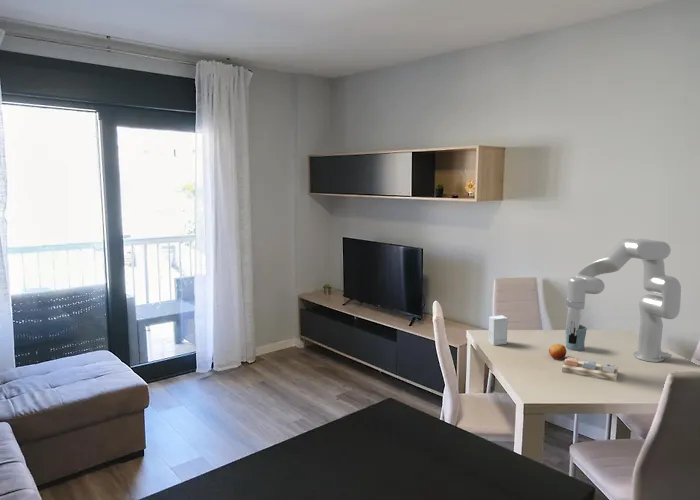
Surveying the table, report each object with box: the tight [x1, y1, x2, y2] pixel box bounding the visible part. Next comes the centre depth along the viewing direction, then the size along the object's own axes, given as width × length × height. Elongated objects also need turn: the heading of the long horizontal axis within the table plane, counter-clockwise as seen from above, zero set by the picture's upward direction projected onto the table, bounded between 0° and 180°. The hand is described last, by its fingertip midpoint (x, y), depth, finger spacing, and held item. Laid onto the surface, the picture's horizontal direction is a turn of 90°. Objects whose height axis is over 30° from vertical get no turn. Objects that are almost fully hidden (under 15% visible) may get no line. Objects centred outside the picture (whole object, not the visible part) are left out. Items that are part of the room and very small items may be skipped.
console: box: [561, 358, 618, 382], centre depth 223 cm, size 22×12×2 cm, turn 59°
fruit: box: [548, 343, 567, 360], centre depth 241 cm, size 8×8×8 cm
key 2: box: [583, 359, 597, 370], centre depth 223 cm, size 5×5×3 cm
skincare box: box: [488, 314, 509, 346], centre depth 262 cm, size 8×6×15 cm
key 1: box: [602, 362, 616, 373], centre depth 219 cm, size 5×5×3 cm
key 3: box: [566, 356, 579, 367], centre depth 227 cm, size 5×5×3 cm
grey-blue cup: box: [565, 323, 588, 352], centre depth 254 cm, size 10×10×12 cm
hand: (572, 343), depth 225 cm, fingers closed
